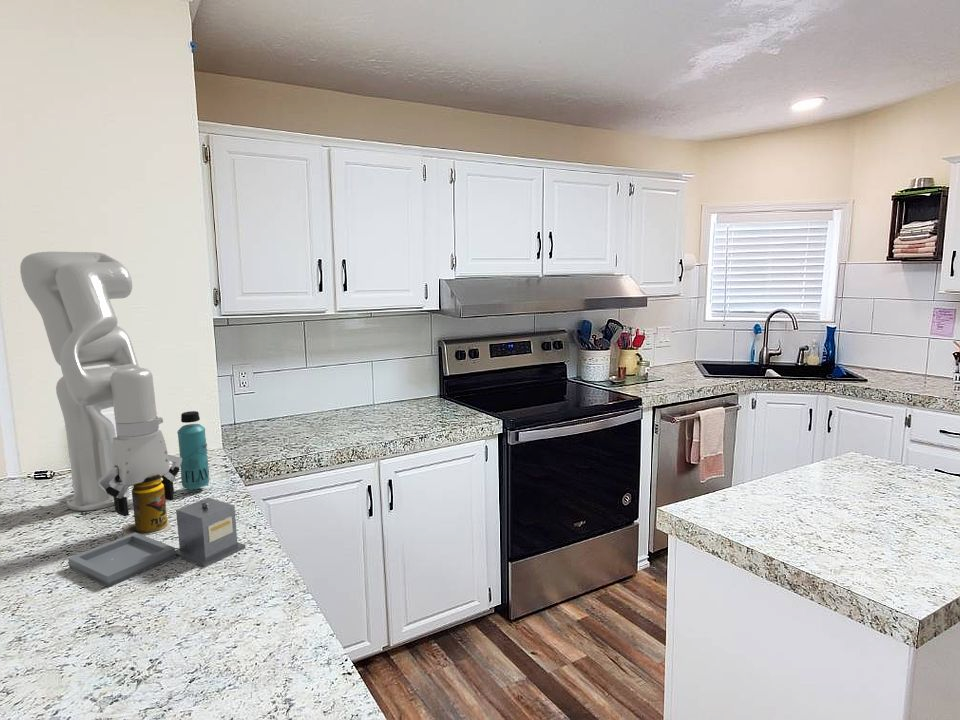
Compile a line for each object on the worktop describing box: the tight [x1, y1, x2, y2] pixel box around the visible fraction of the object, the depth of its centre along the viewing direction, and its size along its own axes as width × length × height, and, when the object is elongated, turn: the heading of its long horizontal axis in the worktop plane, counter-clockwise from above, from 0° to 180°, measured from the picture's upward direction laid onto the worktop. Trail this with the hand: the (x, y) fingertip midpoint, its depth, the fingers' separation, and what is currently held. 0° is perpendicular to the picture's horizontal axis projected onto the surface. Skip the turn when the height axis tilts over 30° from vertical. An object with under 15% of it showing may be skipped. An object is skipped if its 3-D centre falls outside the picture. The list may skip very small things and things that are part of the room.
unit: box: [175, 497, 246, 568], centre depth 115 cm, size 10×9×10 cm
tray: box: [67, 532, 177, 588], centre depth 112 cm, size 13×12×2 cm
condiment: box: [122, 475, 172, 536], centre depth 126 cm, size 7×8×12 cm
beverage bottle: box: [176, 410, 211, 490], centre depth 147 cm, size 6×7×20 cm
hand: (146, 506), depth 126 cm, fingers open, 9 cm apart
